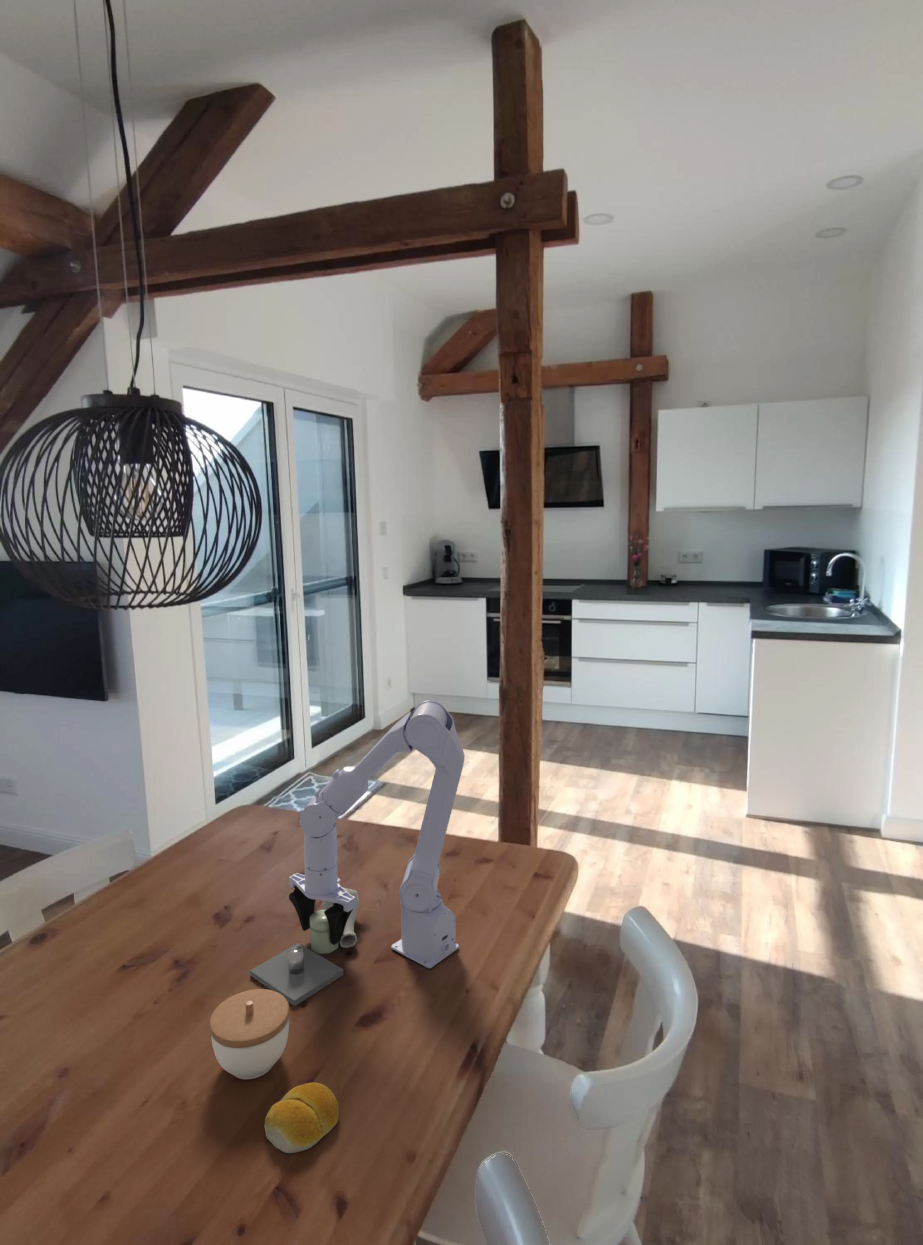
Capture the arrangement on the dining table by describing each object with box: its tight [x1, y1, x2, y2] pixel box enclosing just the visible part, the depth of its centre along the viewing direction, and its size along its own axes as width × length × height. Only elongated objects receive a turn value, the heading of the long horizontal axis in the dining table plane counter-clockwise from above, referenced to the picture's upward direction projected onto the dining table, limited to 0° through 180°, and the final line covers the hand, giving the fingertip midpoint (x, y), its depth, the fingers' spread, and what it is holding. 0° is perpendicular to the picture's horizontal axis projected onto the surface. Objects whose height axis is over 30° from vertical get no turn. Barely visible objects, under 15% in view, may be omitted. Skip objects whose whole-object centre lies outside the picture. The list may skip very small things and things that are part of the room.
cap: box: [309, 909, 340, 955], centre depth 129 cm, size 5×5×6 cm
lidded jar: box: [209, 988, 290, 1081], centre depth 101 cm, size 11×11×9 cm
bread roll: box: [264, 1082, 340, 1154], centre depth 92 cm, size 8×9×4 cm
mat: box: [249, 942, 344, 1007], centre depth 121 cm, size 12×10×1 cm
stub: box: [288, 946, 304, 975], centre depth 121 cm, size 2×2×4 cm
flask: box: [320, 887, 360, 949], centre depth 133 cm, size 7×7×10 cm
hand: (322, 934), depth 129 cm, fingers open, 7 cm apart
